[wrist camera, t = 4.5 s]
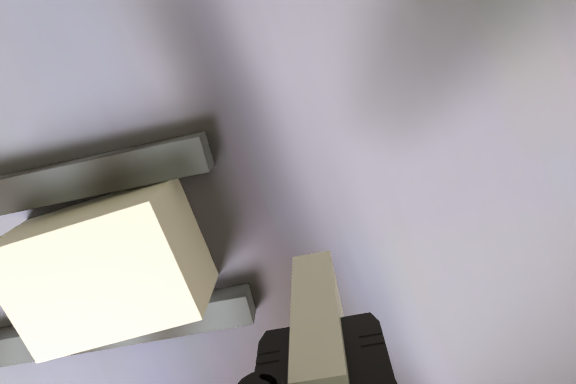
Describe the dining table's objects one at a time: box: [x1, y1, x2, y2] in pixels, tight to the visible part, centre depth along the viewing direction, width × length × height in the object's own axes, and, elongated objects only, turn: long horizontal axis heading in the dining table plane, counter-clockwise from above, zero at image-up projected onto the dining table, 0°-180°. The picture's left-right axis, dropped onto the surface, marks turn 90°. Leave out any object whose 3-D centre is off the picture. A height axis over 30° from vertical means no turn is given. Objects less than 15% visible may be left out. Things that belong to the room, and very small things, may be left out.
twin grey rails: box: [0, 131, 256, 367], centre depth 27 cm, size 22×12×2 cm, turn 102°
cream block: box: [0, 179, 219, 363], centre depth 25 cm, size 10×7×5 cm
